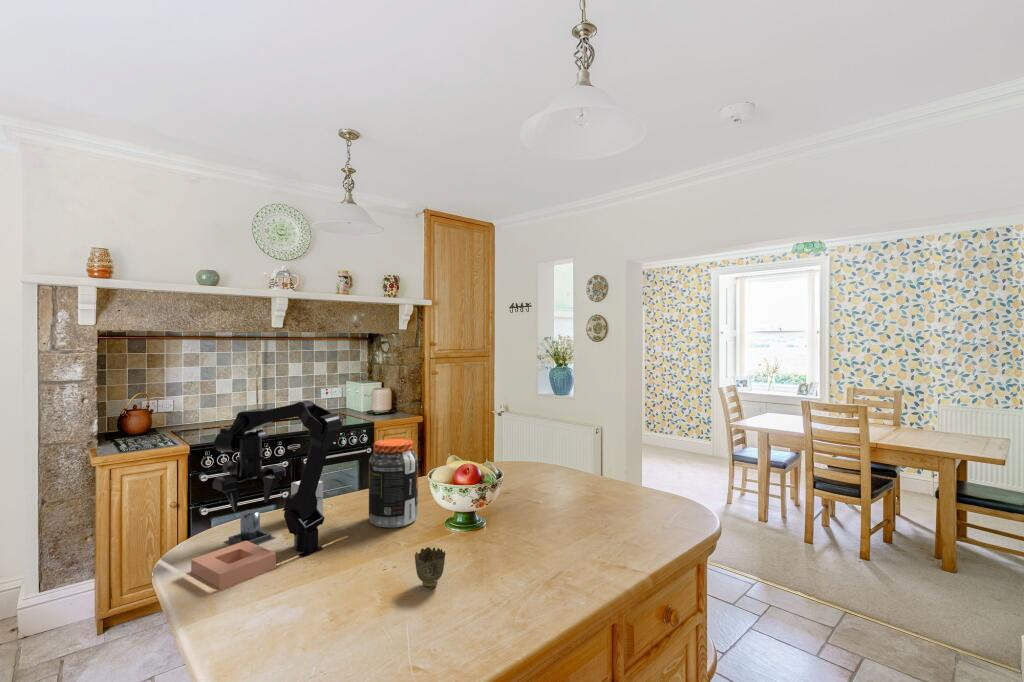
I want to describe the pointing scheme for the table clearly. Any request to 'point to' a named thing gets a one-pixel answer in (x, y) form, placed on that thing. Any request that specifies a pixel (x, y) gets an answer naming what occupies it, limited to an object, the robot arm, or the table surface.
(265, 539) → the stand
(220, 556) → the hub block
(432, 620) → the table surface
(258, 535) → the steel peg
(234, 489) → the robot arm
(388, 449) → the supplement tub
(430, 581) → the cup
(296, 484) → the supplement box
